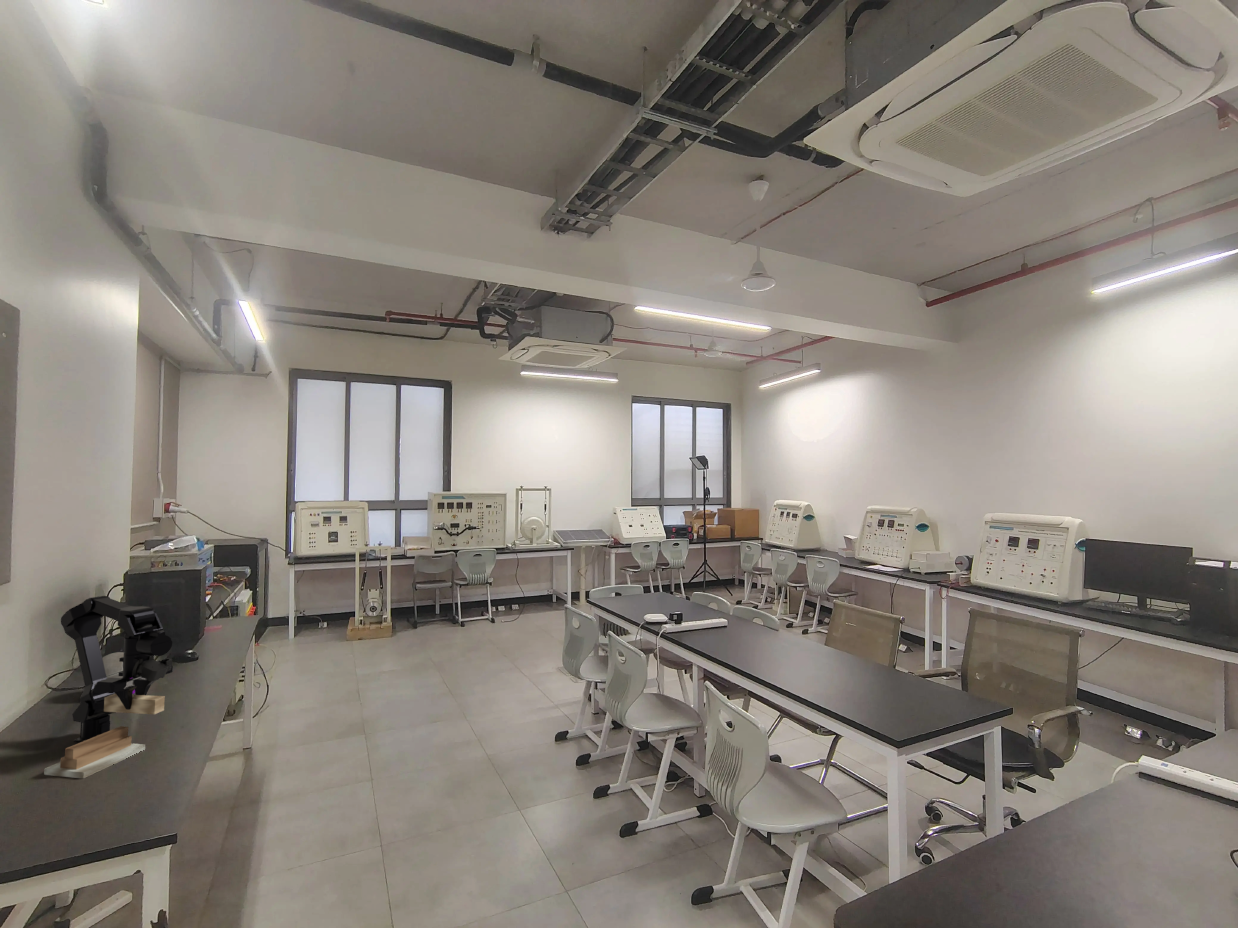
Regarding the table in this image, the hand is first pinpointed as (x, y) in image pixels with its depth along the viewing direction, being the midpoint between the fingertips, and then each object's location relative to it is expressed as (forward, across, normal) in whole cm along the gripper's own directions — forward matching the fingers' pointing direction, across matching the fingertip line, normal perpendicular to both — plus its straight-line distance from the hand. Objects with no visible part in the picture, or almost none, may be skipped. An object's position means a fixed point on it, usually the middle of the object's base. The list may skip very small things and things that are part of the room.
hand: (134, 707), depth 161 cm
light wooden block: (+1, 0, 0) cm, 1 cm away
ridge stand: (+11, -9, 0) cm, 14 cm away
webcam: (+11, +34, +45) cm, 58 cm away
